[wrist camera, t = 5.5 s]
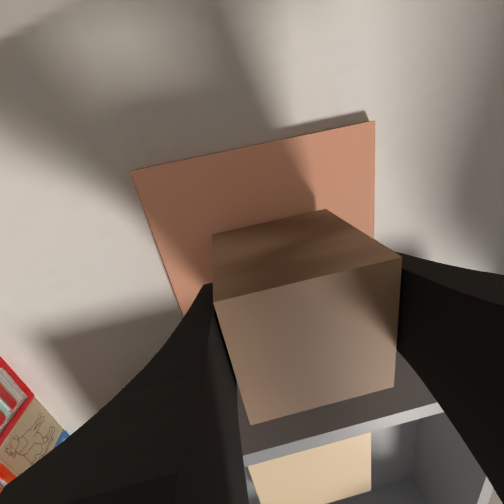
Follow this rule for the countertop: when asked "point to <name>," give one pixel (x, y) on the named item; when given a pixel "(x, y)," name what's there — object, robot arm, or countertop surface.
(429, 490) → the grey crate
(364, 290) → the walnut block
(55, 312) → the countertop surface
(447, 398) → the robot arm
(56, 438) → the stack of blocks
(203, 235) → the terracotta mat
